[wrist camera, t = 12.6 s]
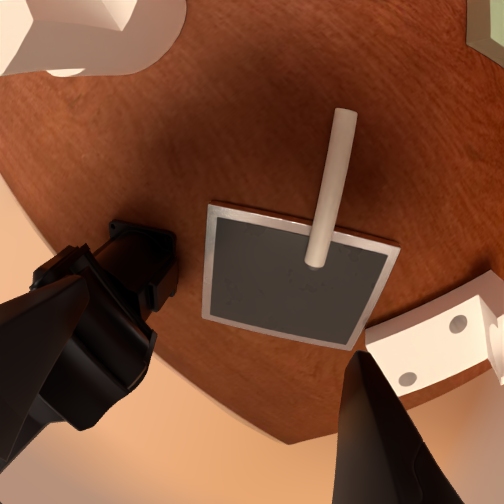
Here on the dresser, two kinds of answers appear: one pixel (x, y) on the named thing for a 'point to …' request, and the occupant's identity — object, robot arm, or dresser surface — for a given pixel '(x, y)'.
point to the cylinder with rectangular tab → (86, 35)
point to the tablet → (290, 277)
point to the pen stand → (486, 28)
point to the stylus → (331, 187)
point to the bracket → (442, 336)
